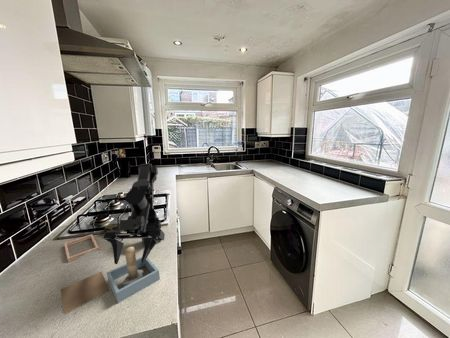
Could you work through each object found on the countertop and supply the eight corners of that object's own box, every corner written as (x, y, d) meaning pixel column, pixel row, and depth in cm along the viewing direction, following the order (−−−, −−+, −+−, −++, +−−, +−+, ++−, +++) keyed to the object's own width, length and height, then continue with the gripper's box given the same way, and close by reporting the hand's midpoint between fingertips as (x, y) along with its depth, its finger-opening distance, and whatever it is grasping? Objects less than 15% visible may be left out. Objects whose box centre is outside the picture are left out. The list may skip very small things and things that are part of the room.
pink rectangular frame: (92, 236, 94) (92, 234, 94) (99, 250, 83) (98, 247, 82) (64, 246, 87) (64, 243, 87) (68, 262, 76) (67, 258, 75)
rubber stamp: (132, 275, 66) (127, 244, 64) (143, 274, 67) (139, 243, 64) (123, 289, 61) (118, 255, 58) (136, 288, 61) (131, 254, 58)
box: (146, 265, 72) (145, 255, 71) (160, 282, 64) (158, 270, 63) (108, 284, 64) (106, 272, 63) (118, 306, 55) (116, 293, 54)
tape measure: (123, 228, 101) (122, 222, 101) (115, 235, 95) (114, 228, 94) (110, 229, 102) (109, 222, 101) (102, 236, 95) (100, 229, 94)
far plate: (101, 274, 68) (101, 271, 68) (110, 293, 60) (109, 290, 60) (61, 292, 61) (60, 289, 61) (64, 317, 52) (63, 314, 52)
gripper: (101, 208, 62) (83, 260, 54) (158, 205, 63) (150, 257, 54) (117, 219, 72) (104, 266, 63) (167, 217, 72) (161, 263, 63)
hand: (129, 263), depth 61 cm, fingers open, 8 cm apart
